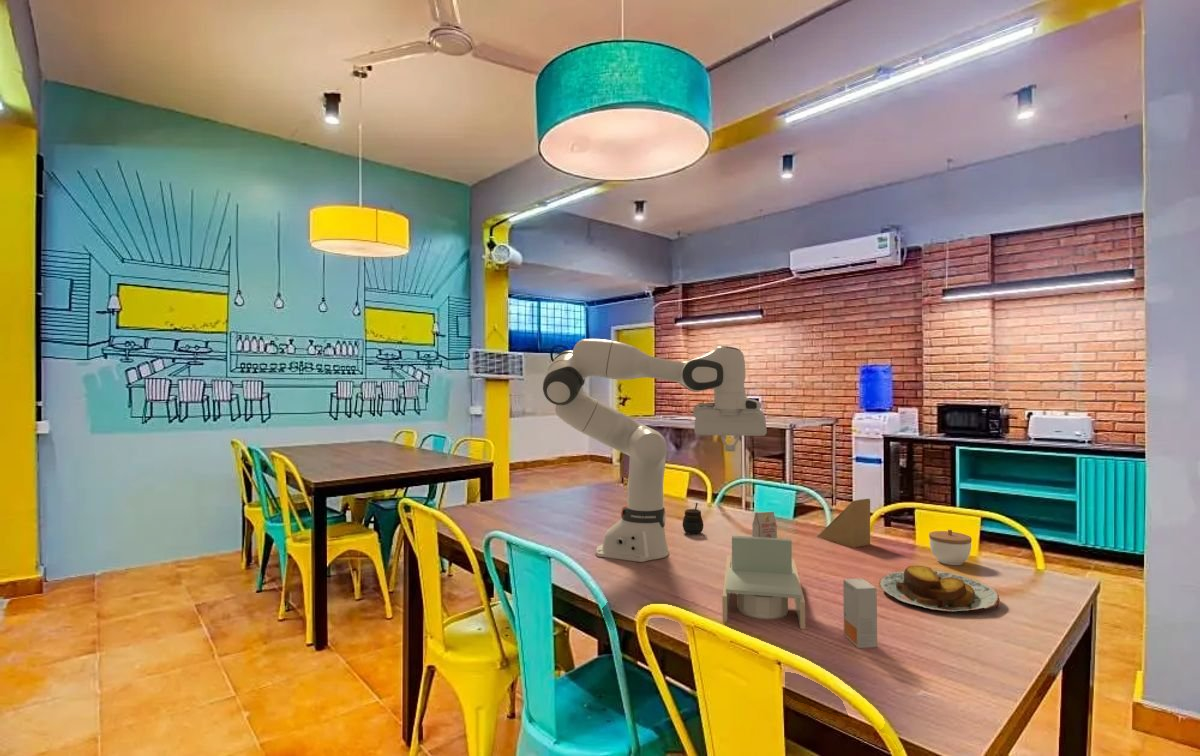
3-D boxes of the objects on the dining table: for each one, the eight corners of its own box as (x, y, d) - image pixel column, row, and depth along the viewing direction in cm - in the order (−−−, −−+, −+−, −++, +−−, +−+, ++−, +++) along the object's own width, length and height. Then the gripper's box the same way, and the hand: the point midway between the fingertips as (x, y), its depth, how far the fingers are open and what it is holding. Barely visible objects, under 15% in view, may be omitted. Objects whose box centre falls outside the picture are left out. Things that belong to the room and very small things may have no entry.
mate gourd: (680, 535, 208) (680, 506, 208) (685, 529, 215) (684, 501, 215) (701, 536, 205) (701, 507, 205) (705, 531, 212) (705, 503, 212)
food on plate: (1025, 611, 138) (1024, 583, 138) (936, 624, 132) (935, 594, 132) (936, 576, 163) (936, 552, 163) (858, 585, 157) (858, 560, 157)
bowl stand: (722, 621, 133) (722, 595, 133) (727, 575, 164) (727, 554, 164) (805, 629, 129) (805, 602, 129) (794, 580, 160) (794, 559, 160)
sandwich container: (833, 534, 208) (832, 490, 208) (871, 544, 195) (870, 498, 195) (815, 537, 204) (814, 493, 204) (852, 548, 191) (852, 500, 191)
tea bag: (752, 542, 198) (752, 511, 198) (770, 540, 200) (770, 510, 200) (758, 544, 195) (758, 514, 195) (776, 543, 197) (776, 512, 197)
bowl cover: (725, 592, 134) (725, 553, 134) (728, 570, 150) (727, 535, 150) (801, 598, 130) (800, 558, 130) (795, 575, 146) (795, 539, 146)
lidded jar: (931, 565, 172) (931, 532, 172) (927, 555, 182) (926, 524, 182) (975, 569, 168) (974, 536, 168) (967, 558, 178) (967, 527, 178)
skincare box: (842, 635, 125) (842, 578, 125) (862, 635, 126) (862, 577, 126) (857, 648, 119) (857, 588, 119) (878, 647, 120) (877, 587, 120)
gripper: (692, 403, 171) (692, 451, 171) (766, 403, 166) (767, 453, 166) (694, 402, 177) (694, 449, 177) (766, 402, 172) (766, 450, 172)
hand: (730, 451), depth 172 cm, fingers closed
